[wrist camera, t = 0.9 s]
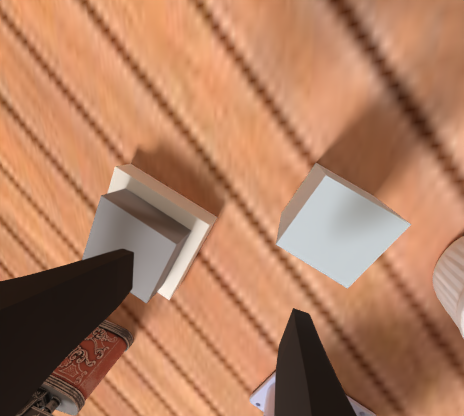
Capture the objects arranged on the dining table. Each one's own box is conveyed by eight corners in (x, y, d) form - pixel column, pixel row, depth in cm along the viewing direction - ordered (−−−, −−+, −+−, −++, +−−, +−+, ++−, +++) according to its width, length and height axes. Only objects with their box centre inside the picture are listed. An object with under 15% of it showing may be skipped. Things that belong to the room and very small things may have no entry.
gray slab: (191, 230, 18) (176, 244, 16) (163, 284, 20) (146, 303, 18) (125, 188, 18) (101, 195, 16) (105, 246, 21) (82, 259, 18)
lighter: (80, 330, 29) (-19, 420, 20) (77, 310, 28) (-30, 395, 19) (134, 349, 27) (52, 458, 18) (132, 329, 26) (45, 432, 17)
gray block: (373, 195, 15) (411, 224, 10) (332, 243, 17) (347, 288, 12) (316, 162, 16) (325, 175, 11) (281, 213, 17) (275, 244, 12)
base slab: (219, 214, 20) (209, 225, 17) (181, 283, 23) (169, 300, 21) (135, 163, 20) (115, 166, 18) (111, 237, 24) (91, 248, 21)
